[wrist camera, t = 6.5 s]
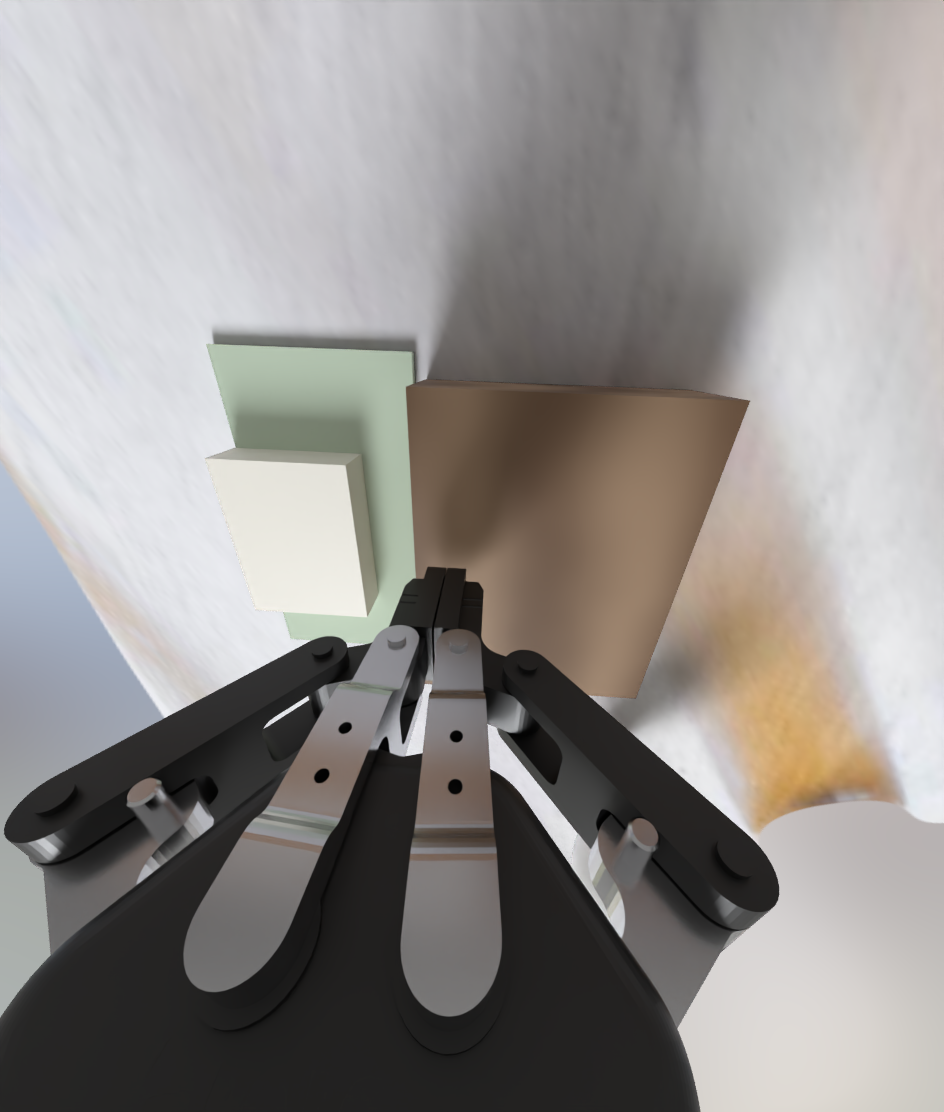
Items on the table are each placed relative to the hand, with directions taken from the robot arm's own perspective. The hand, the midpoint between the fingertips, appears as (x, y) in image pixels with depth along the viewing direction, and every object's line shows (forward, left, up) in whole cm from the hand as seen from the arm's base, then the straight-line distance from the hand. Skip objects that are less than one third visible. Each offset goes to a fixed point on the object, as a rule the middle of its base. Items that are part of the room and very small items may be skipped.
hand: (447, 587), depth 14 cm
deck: (-4, 0, -5) cm, 7 cm away
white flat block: (+7, 0, -3) cm, 8 cm away
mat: (+6, 0, -5) cm, 8 cm away
